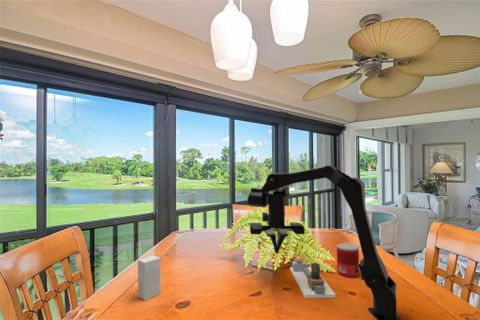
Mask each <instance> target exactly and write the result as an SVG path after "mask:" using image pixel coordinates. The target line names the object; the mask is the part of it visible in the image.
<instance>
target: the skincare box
mask: <svg viewBox="0 0 480 320" xmlns="http://www.w3.org/2000/svg"><path fill="white" fill-rule="evenodd" d="M161 259H162V258H161V257H159V256H157V255H151V256H148V257H144V258H140V259H138V260H137V281H138V282H137V296H138V298H140V299H141V300H143V301H147V300H149V299H151V298H154V297H156V296H158V295H160V294H161V291H162V290H161V287H162V284H161V277H162V276H161V272H162V271H161V270H162V269H161V268H162V267H161V263H162V262H161Z"/></svg>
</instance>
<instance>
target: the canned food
mask: <svg viewBox="0 0 480 320" xmlns="http://www.w3.org/2000/svg"><path fill="white" fill-rule="evenodd" d="M359 252H360V251H359V246H358V245H356V244H353V243H338V244H337V245H336V270H337V274H338V275H340V276H341V277H344V278H350V279H354V278H357V277H358V276H359V274H360V269H359V263H360V258H359V257H360V256H359V255H360V254H359Z"/></svg>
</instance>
